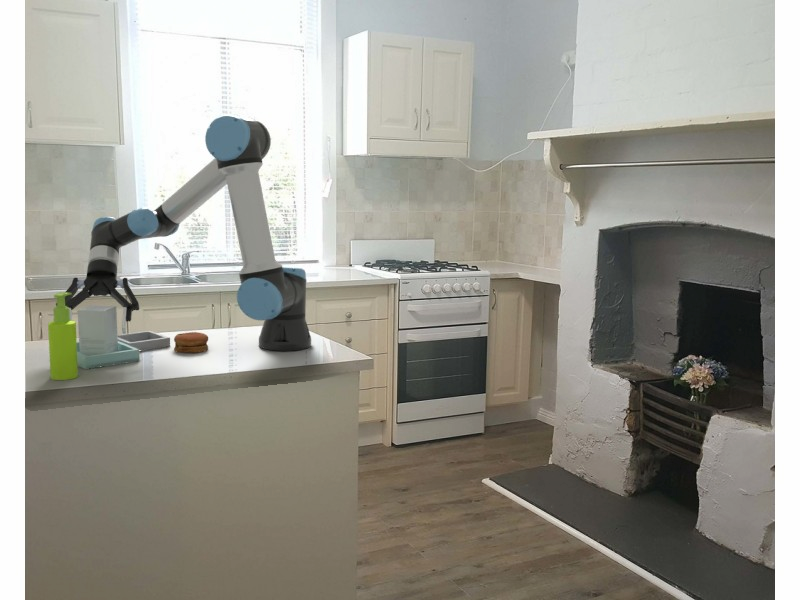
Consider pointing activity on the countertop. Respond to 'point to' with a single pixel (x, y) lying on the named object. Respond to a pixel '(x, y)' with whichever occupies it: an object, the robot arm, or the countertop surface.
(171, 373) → the countertop surface
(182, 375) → the countertop surface
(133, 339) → the holder
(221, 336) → the countertop surface
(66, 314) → the soap dispenser
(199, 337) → the burger
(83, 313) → the supplement box
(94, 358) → the tray
